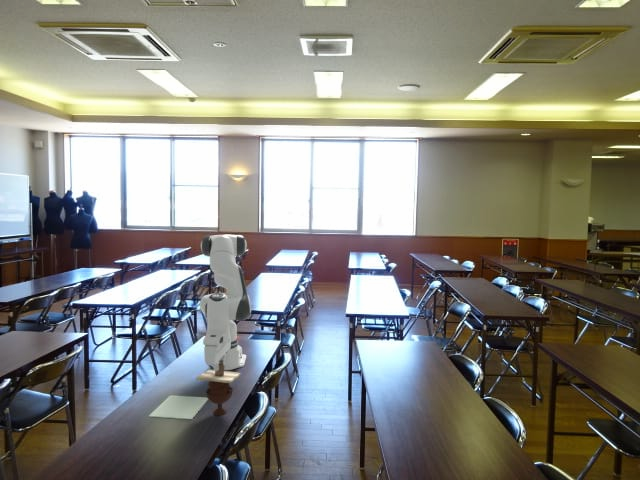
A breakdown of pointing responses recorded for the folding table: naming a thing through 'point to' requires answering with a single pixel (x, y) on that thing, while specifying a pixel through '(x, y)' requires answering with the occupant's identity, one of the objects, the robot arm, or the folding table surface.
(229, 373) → the lid
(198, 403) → the lid mat
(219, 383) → the ice cream bowl
